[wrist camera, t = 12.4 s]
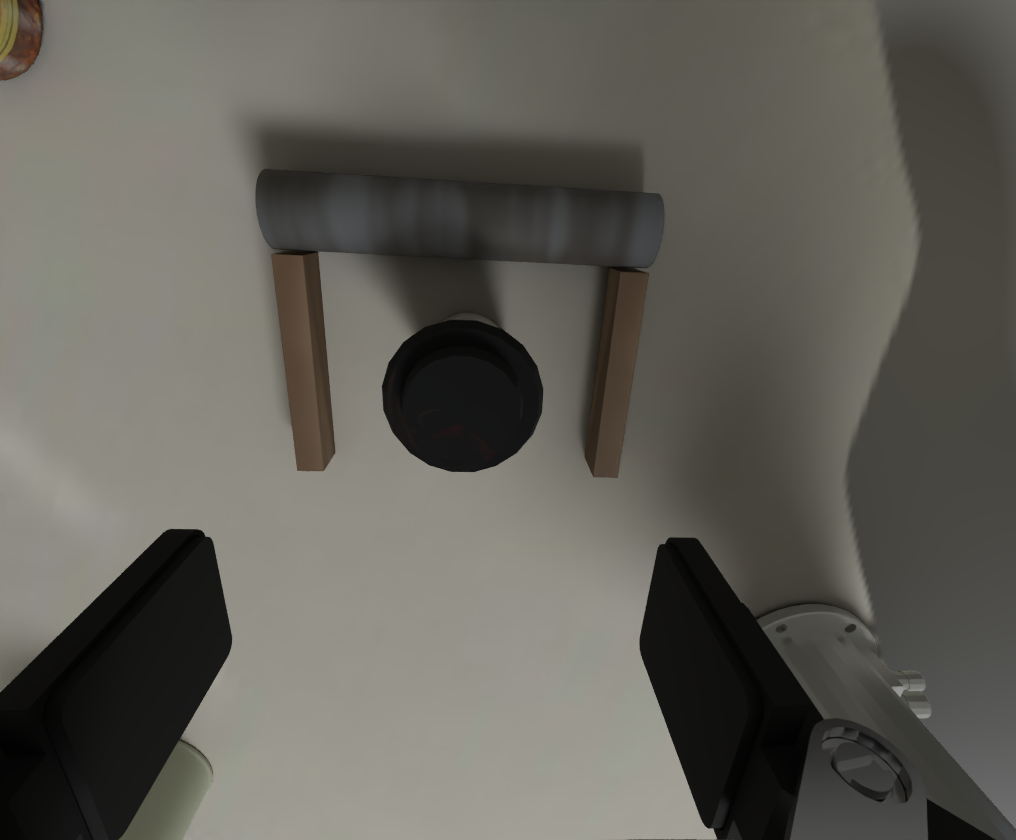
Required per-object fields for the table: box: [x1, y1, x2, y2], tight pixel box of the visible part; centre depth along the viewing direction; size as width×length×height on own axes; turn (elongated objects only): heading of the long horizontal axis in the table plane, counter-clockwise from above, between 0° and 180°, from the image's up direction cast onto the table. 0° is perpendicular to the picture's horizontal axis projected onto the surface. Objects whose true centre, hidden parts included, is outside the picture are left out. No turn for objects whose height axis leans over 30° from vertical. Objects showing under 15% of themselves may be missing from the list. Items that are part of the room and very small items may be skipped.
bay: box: [256, 169, 664, 478], centre depth 27 cm, size 19×16×4 cm
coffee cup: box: [382, 312, 543, 472], centre depth 25 cm, size 7×7×10 cm
